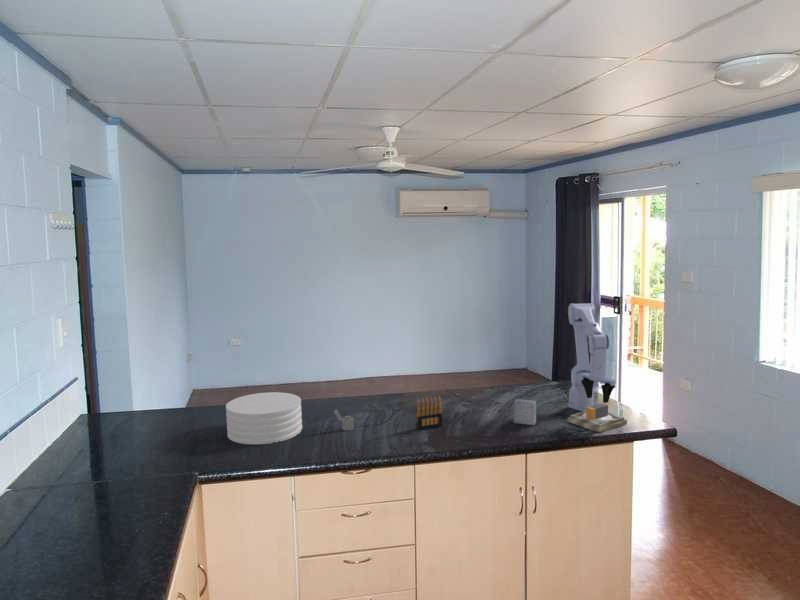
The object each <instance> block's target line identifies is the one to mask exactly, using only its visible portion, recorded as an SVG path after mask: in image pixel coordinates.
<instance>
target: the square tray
mask: <svg viewBox="0 0 800 600" xmlns="http://www.w3.org/2000/svg"><path fill="white" fill-rule="evenodd" d="M584 413H586V411H584V412H582V411H580V412H577V413H574V414H570V417H567V422H568V423H571V424H573V425H577V426H579V427H582V428H585V429H589V430H591V431H595V432H597V433H603V432H605V431H608V430H609V431H610V430H612V429H615V428H618V427H621V426H625V425H627V424H628V419H625V417H624V416H619V415H616V414H614V413H610V412H608V415H610V416H612V420H610V421H608V422H605V423H602V424H598V423H595V422H592V421H589V420H588V419H585V418H582V415H583V414H584Z"/></svg>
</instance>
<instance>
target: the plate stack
mask: <svg viewBox="0 0 800 600" xmlns="http://www.w3.org/2000/svg"><path fill="white" fill-rule="evenodd" d="M225 411H226V413H225V416H226V431H227V433H226V434H227V436H226V437H227V438H228V439H229V440H230V441H232V442H235V443H238V444H243V445H266V444H267V445H268V444H274V443H273V442H275V443H279V441H280V442H283V441H287V440H290V439H292V438H294V437H296V436H297V434H298V435H299V434H300V433H301V432H302V431H301V430H303V418H302V417H303V416H302V414H303V413H302V399H301V397H300V396H299V395H296V394H294V393H288V392H278V391H277V392H276V391H274V392H257V393H251V394H247V395H242V396H239V397H236V398H234V399H232V400H230V401H228V402H227V403H226V405H225Z"/></svg>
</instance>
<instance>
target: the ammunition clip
mask: <svg viewBox="0 0 800 600" xmlns="http://www.w3.org/2000/svg"><path fill="white" fill-rule="evenodd" d="M432 397H433V396H430V397H429V398H428V397H426V399H425V400H424V398H423V397H422V398H421V401H420V399H419V398H417V400H416V416H415V429H416V430H417V431H418V430H419V431H420V430H421V431H422V430H425V429H433V428H438V427H443V426H444V425H443V413H442V410H443V409H442V402H441V395H438V397H437V396H435V395H434V397H433V398H432Z"/></svg>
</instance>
